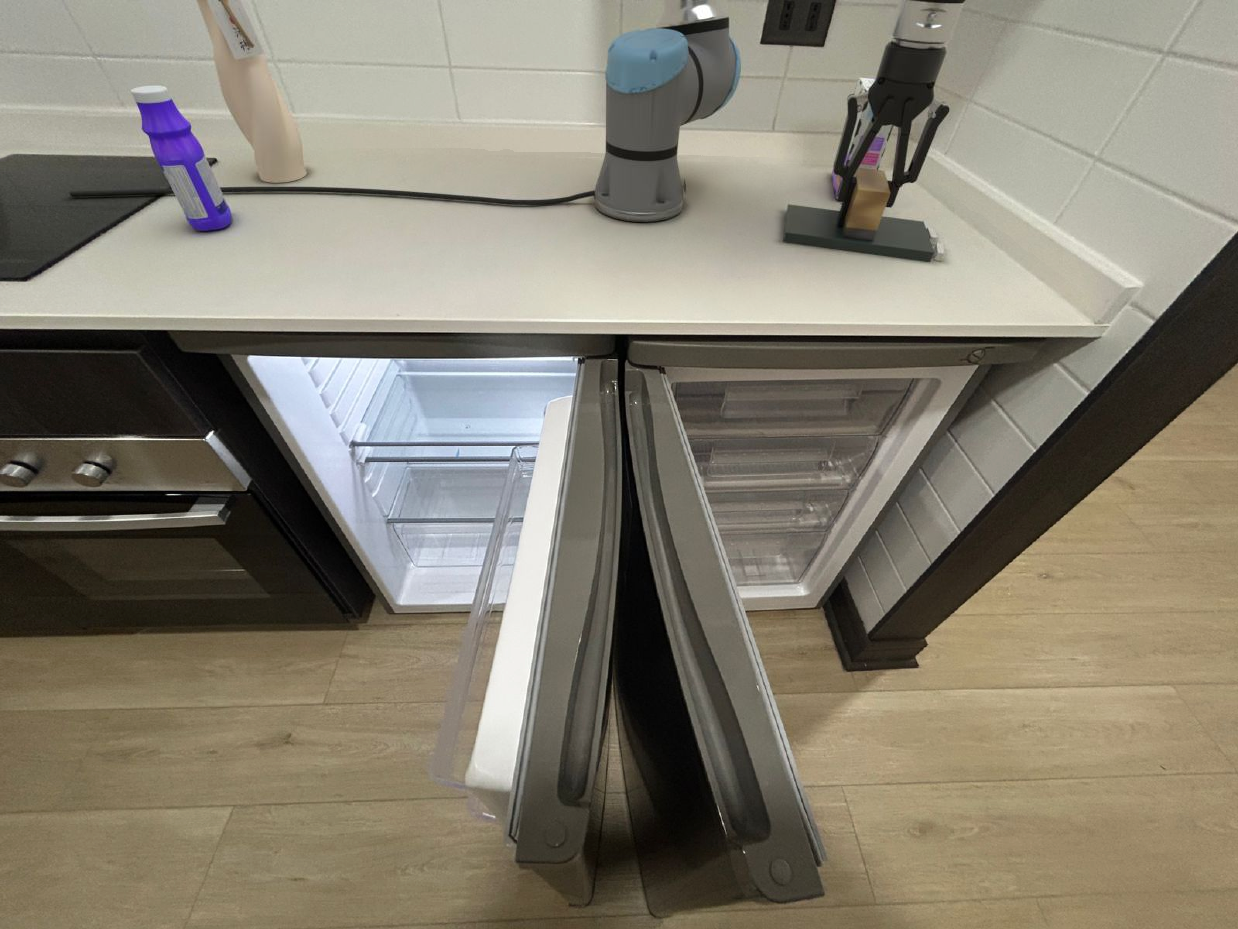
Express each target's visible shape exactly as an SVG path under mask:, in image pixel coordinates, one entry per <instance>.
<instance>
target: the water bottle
mask: <svg viewBox="0 0 1238 929" xmlns="http://www.w3.org/2000/svg"><path fill="white" fill-rule="evenodd" d="M196 3H197V5H198V9H199V11H200V13H201V16H202V19H203V22H204V25H205V27H206V30H207V32H208V35H209V38H210V40H211V43H212V49H213V50H212V51H213V52H212V53H213V60H214V61H213V62H214V66H215V70H216V75H217V78H218V82H219V83H218V84H219V87H220V91H221V94H222V97H223V100H224V102H225V104H226V106H227V108H228V110H229V113H230V114H231V116H232V118H233V121H235V124H236V125H237V127H238V129H239V130H240V132H241V133H242V135H243V137H244V138H245V139H246V140H247V142H248V144H249V145H250V146H251V147H252V149H253V152H254V155H253V156H254V162H255V165H256V170H257V172H258V176H259V179H260V180H261V181H263V182H266V183H270V184H271V183H274V184H281V183H289V182H294V181H298V180H301V179H303V178H305V176H307V173H308V172H307V169H306V166H305V161H304V151H303V150H304V149H303V142H302V139H301V134H300V132H299V130H298V126H297V124H296V121H295V119H294V117H293V114H292V112H291V110H290V108H289V106H288V105H287V102H286V100H285V98H284V96H283V94H282V92H281V91H280V89H279V88H278V86H277V84H276V82H275V80H274V78H273V77H272V73H271V70H270V68H269V64H268V61H267V58H266V56H265V54H266V53H265V51H264V48H263V47H262V44H261V42H260V40H259V38H258V35H257V33H256V30H255V28H254V27H253V24H252V23H251V20H250V18H249V15H248V14H247V11H246V9H245V6H244V5H243V2H242V0H196Z"/></svg>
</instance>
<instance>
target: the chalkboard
mask: <svg viewBox="0 0 1238 929" xmlns="http://www.w3.org/2000/svg"><path fill="white" fill-rule="evenodd" d="M786 208H787V209H786V212H785V219H784V220H785V221H784V232H783V242H784V243H790V244H796V245H797V244H798V245H805V246H811V247H817V248H825V249H826V248H827V249H835V250H841V251H847V252H854V253H863V254H869V255H870V254H871V255H877V256H884V257H892V258H899V259H907V260H913V261H920V262H928V263H930V262H931V261H932V259H933V258H934V250H933V249H934V247H933V245H932V244H931V241H930V238H929V235H928V232H927V230H926V229H927V227H926V223H925V221H923V220H914V219H907V218H898V217H892V216H891V217H890V216H883V215H882V218H881V221H880V223H879V226H878V229H877V232H876V234H875V237H874V240H873V241H871V240H863V239H855V238H847V237H843V231H842V226H838V223H837V218H838V215H839V212H840V210H835V209H828V208H821V207H813V206H804V205H798V204H797V205H796V204H790V203H789V204H788V205H787V207H786Z"/></svg>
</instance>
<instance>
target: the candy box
mask: <svg viewBox="0 0 1238 929" xmlns="http://www.w3.org/2000/svg"><path fill="white" fill-rule="evenodd" d="M875 79H876V78H872V77H869V78H868V77H858V78H857V82H856V85H855V88H854V93H853V94H855V95H858V94H861V93H864V92H868V90H869V88H870V87H871V86H872V84H873V83H874V81H875ZM872 116H873V113H872V110H871V107H870V104H869V101H867V102H866V103H865V104H864V106H863V110H862V111H861V112H859V113H857V121H856V124H855V128H854V131H853V135H852V138H851V142H850V145H849V149H848V152H847V156H846V159H845V163H844V165H845V166H847V165H848V163H849V161H850V159H851V157H852V155H853V153H854V151H855V150H856V148H857V146H858V144H859V142H860V140H861V138H862V136H863V135H864V133H865V131H866V129H867V127H868V125H869V122H870V120H871V118H872ZM893 128H894V126H893V125H887V126H882V127H881V129H880V131H879V132H878V133H877V135H876V137H875V138H874V140H873V142H872V144H871V146H870V148H869V149H868V151H867V153H866V155H865V157H864V158H863V160H862V162H861V164H860V166H859V167H858V168H866V169H875V170H880V165H881V162H882V160H883V156H884V154H885V151H886V149H887V144H888V143H889V140H890V137H891V134H892V131H893ZM830 177H831V182H832V187H833V190H834V191H833V192H834V196H835V200H838V192H839V188H840V185H841V182H842V177H841V176H839V175H835V174H834V169H833V168H832V172H831V175H830Z"/></svg>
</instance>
